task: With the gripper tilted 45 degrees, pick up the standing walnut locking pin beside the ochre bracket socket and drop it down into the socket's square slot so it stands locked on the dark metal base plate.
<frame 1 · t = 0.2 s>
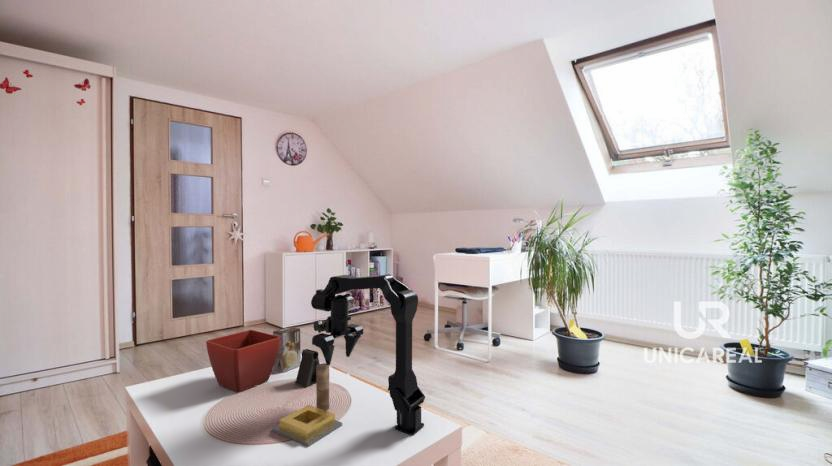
hand: (338, 360, 127), 15 cm above the table, tool pointing down, fingers open, 9 cm apart
pin: (322, 408, 124), on the table
phone stand: (310, 382, 145), on the table
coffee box: (287, 368, 160), on the table
plant pot: (244, 383, 144), on the table
socket: (307, 428, 112), on the table
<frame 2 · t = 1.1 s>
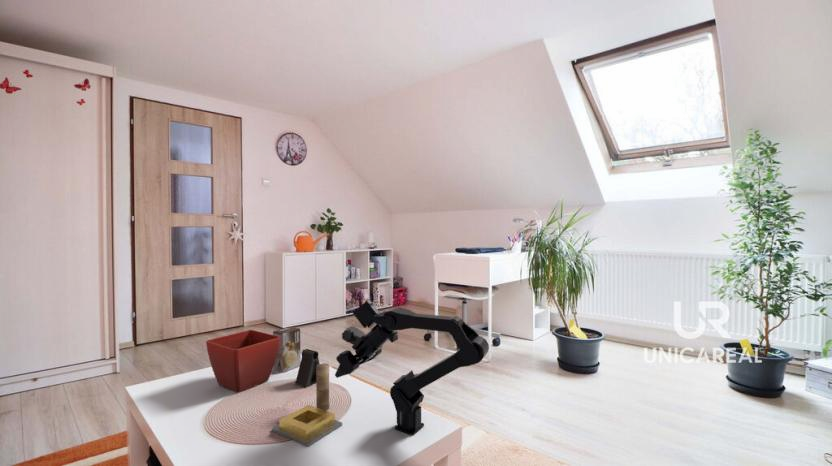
hand: (344, 371, 121), 13 cm above the table, tool tilted 45°, fingers open, 9 cm apart
nothing on the table moved.
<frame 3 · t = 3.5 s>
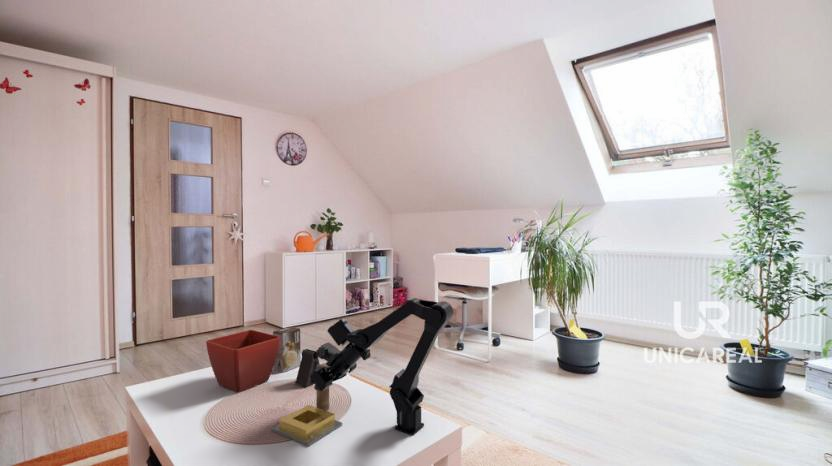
hand: (319, 386, 124), 7 cm above the table, tool tilted 45°, fingers closed on pin, 4 cm apart
pin: (322, 408, 124), on the table, touching gripper
everything else where it was.
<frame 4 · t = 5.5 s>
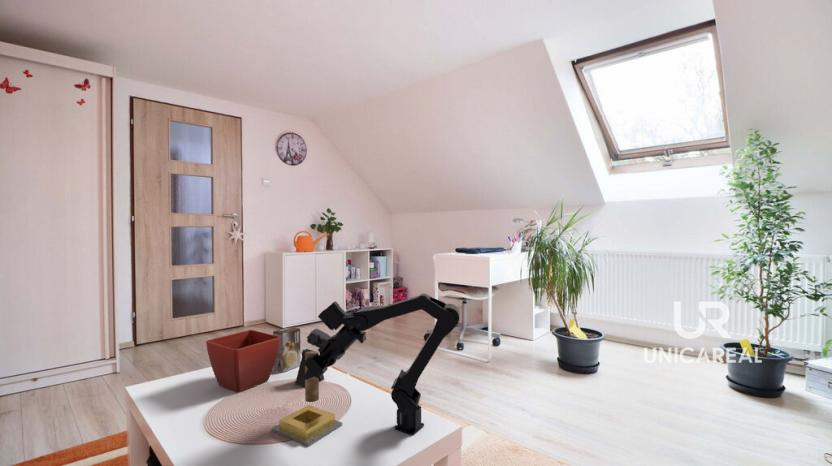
hand: (307, 375, 117), 13 cm above the table, tool tilted 45°, fingers closed on pin, 4 cm apart
pin: (312, 399, 117), point 6 cm above the table, touching gripper
everything else where it was.
when the fingers open (9 cm above the table, at t = 7.4 s): pin stays where it is, resting on socket.
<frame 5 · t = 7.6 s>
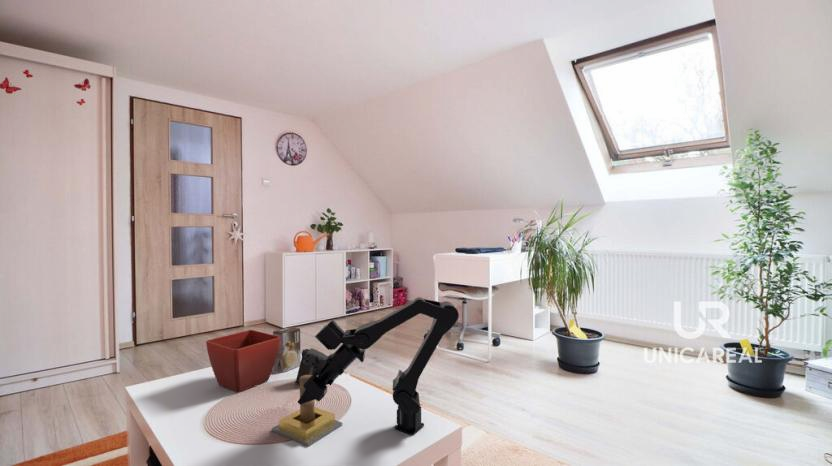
hand: (302, 397, 112), 9 cm above the table, tool tilted 45°, fingers open, 6 cm apart
pin: (307, 425, 112), point 1 cm above the table, touching socket
everything else where it was.
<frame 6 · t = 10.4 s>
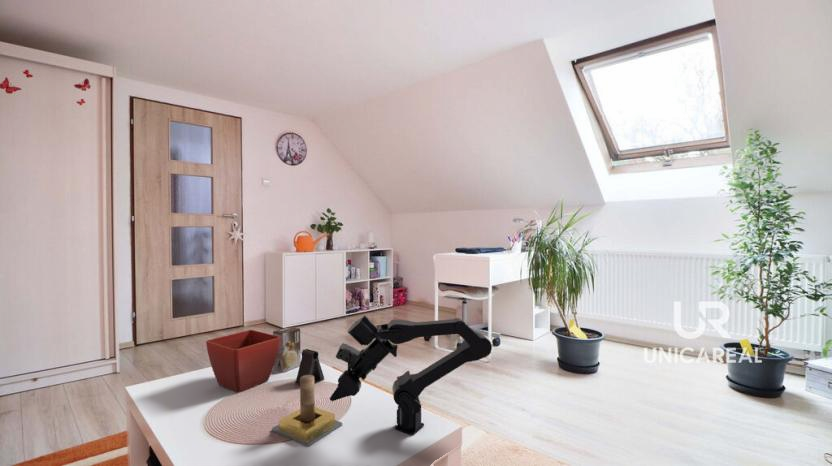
hand: (334, 392, 111), 10 cm above the table, tool tilted 45°, fingers open, 9 cm apart
nothing on the table moved.
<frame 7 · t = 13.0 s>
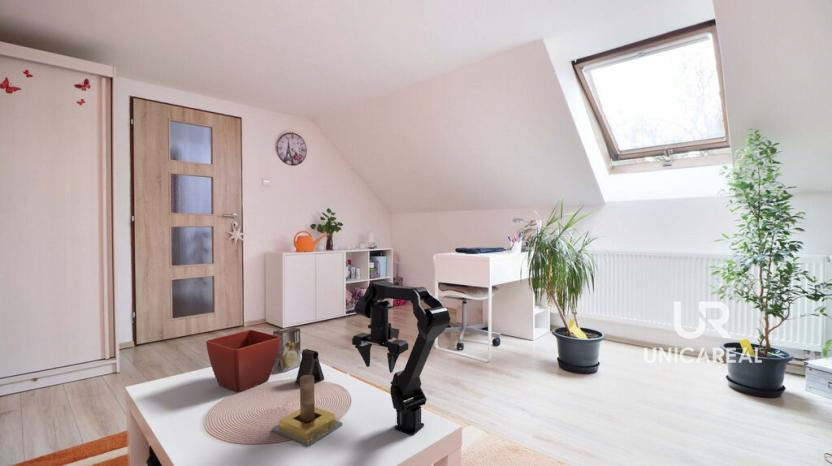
hand: (379, 369, 123), 13 cm above the table, tool pointing down, fingers open, 9 cm apart
nothing on the table moved.
at the end: pin 0.1 cm off-centre on the socket, point 0.8 cm above the socket's base; pin tilted 1°; the gripper is holding nothing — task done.
